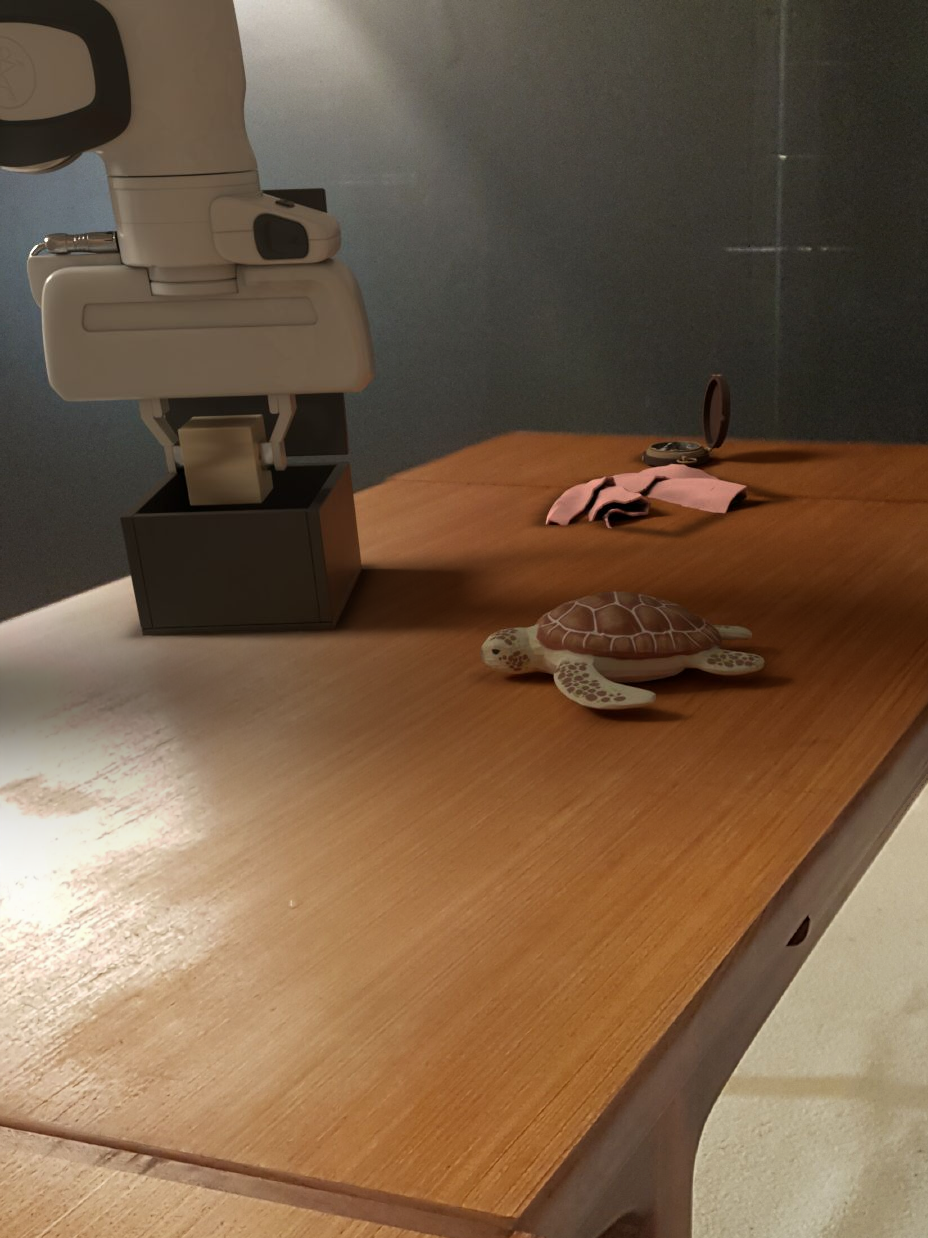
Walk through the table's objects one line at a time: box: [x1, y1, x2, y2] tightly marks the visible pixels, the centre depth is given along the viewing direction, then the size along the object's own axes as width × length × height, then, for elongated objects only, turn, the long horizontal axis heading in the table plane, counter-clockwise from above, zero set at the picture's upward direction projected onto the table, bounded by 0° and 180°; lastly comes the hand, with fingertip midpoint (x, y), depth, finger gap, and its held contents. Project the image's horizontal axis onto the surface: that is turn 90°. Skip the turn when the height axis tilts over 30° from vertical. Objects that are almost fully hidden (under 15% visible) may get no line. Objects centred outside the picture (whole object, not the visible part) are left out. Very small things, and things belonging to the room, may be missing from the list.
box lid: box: [164, 187, 350, 458], centre depth 112 cm, size 16×13×1 cm
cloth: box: [545, 464, 748, 529], centre depth 135 cm, size 20×22×2 cm
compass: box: [641, 373, 732, 467], centre depth 148 cm, size 8×8×7 cm
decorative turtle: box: [479, 590, 765, 710], centre depth 96 cm, size 18×17×5 cm
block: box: [178, 415, 273, 506], centre depth 105 cm, size 5×5×5 cm
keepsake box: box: [119, 461, 363, 636], centre depth 111 cm, size 16×13×8 cm
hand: (229, 470), depth 106 cm, fingers closed on block, 4 cm apart
